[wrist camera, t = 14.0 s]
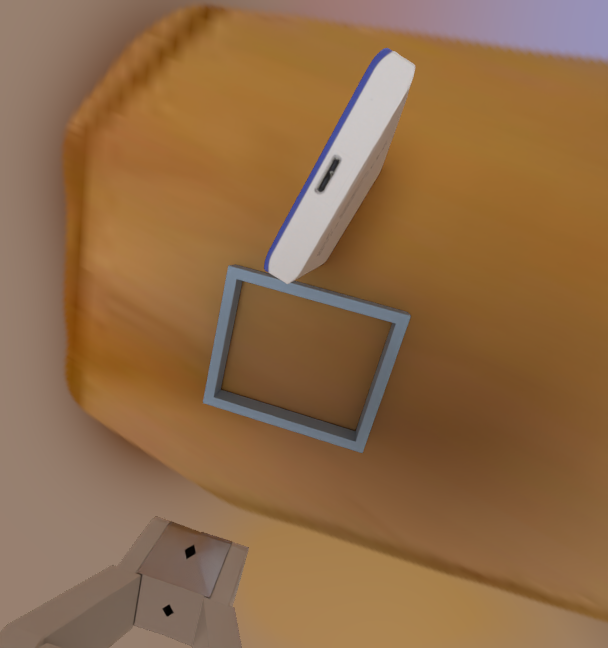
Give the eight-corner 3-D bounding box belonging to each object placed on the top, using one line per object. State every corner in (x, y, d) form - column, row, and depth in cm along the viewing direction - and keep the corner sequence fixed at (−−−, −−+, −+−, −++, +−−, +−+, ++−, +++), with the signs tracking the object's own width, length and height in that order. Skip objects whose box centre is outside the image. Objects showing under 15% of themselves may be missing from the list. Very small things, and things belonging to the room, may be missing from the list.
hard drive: (305, 256, 24) (257, 266, 12) (366, 151, 22) (379, 41, 10) (322, 267, 24) (292, 288, 12) (385, 163, 22) (422, 67, 10)
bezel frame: (407, 311, 24) (410, 315, 23) (362, 442, 27) (362, 453, 26) (235, 264, 25) (228, 265, 24) (210, 394, 28) (202, 402, 27)
